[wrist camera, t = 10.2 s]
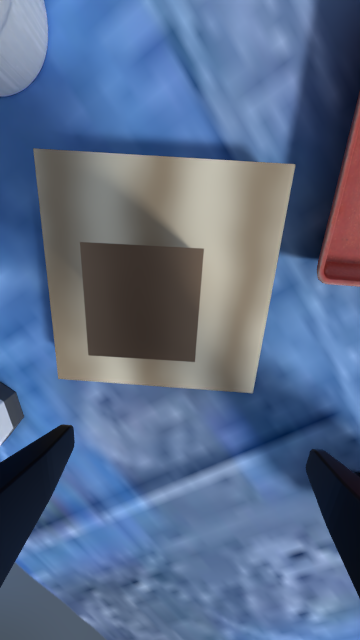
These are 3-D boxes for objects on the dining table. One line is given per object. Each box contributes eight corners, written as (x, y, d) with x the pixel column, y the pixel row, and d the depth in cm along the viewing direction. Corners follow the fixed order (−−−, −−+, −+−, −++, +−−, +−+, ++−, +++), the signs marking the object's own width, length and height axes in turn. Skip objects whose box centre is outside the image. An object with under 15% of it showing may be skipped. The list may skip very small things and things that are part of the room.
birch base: (274, 182, 15) (295, 164, 12) (242, 373, 20) (252, 393, 17) (61, 169, 15) (33, 148, 13) (77, 361, 20) (58, 378, 17)
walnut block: (196, 254, 14) (203, 248, 8) (191, 324, 15) (195, 362, 10) (123, 250, 14) (79, 241, 8) (125, 320, 15) (88, 355, 10)
